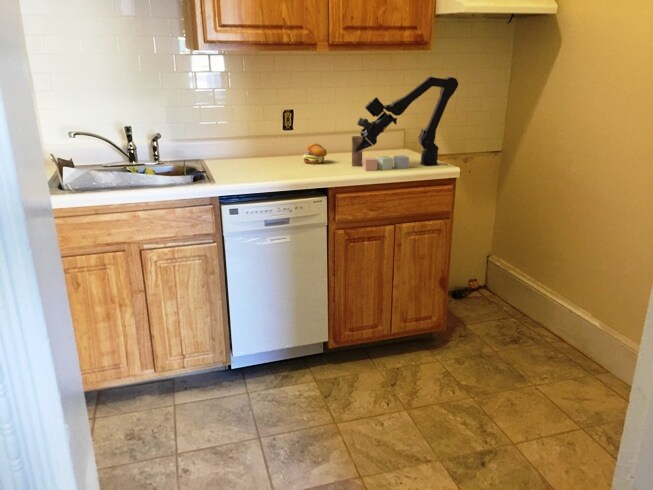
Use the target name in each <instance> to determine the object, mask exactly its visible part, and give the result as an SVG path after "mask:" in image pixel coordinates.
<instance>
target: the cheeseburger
mask: <svg viewBox="0 0 653 490" xmlns="http://www.w3.org/2000/svg"><path fill="white" fill-rule="evenodd" d="M307 150H308V151H306V152H305V153H304V154H303V155H302V156H303V162H304V163H307V164H311V165H316V164H318V165H319V164H323V163H324V160H325V159H326V158H325V157H326V156H327V154H328V153H327V149H326V148H324V147H323V146H322V145H321V144H319V143H318V142H314V143H311V144H309V145H308V146H307Z"/></svg>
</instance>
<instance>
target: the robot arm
mask: <svg viewBox="0 0 653 490" xmlns="http://www.w3.org/2000/svg"><path fill="white" fill-rule="evenodd" d="M432 87H436V88H437V87H438V88H440V89H439V90H440V91H439V97H438V100H437V102H436V103H435V104H436V105H435V107H434V108H433V112H432V114H431V116H430V119H429V121H428V124H427V126H426V127H425V128H424V129H423V128H421V130H420V134H419V135H418V143H419V145H420V146H421V147H422V148H423V149H422V153H421V154H420V155H421V156H420V158H421V159H420V164H421V165H423V166H425V167H426V166H427V167H428V165H429V166H435V165H434V164H439V163H438V158H439V157H438V155H439V146H438V145H437V144H436V143H435V140H436V136H437V135H436V134H437V130H438V126H439V124H440V122H441V119H442V116H443V115H444V112H445V110H446V108H447V105H448V102H449V100H450V99H451V97H453V95H454V94H455V92H456V91H457V89H458V87H459V82H458V79H457V78H456V77H452V76H447V77H444V78H440V77H434V76H428V77H426V79H425V80H423V81H422V82H421V83H419V84H418V85H417V86H416V87H415V88H413V89H412V90H410V92H408V93H407V94H406V95H403V96H402V97H400V98H397V99H396V100H394V101H392V102H391V103H390V104H385V105H384V104H383V103H382V102H381V101H380V100H379V97H374V98H373V99H371V101H369V102H368V103H367V104H366V105H365V107H364V109H365V110H366V111H367V112H369V114H371V116H372V117H373V118H375V117H376V119H375V120H373V121H369V119H367V118H363V117H359V118H358V121H357V123H356V124H357V126H359V127H362V128H361V131H360V136H362V137H363V140H362V142H361V143H360V144H359V146H358V147H357V148H356V151H357V152H358V151H360V150H362V151H363V150H365V149H367V148H370V147H373V146H376V144H377V143H378V136H380V135H381V134H383V133H384V131H385V129H387V128H388V127H389V126H390V125H391V124H392V123H394V125H397V122H398V121H397V120H398V118H397V117H398V116H401V115H403V113H404V112H405V111H406V110H407V109H408V107H409V106H410V105H411V104H412V103H413V102H415V100H417V99H418V98H419V97H421V96H422V95H423V94H425V92H427V91H428V90H430V89H431V88H432ZM387 112H388V113H387ZM393 115H394V116H396V117H394V116H393Z"/></svg>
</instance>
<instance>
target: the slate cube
mask: <svg viewBox="0 0 653 490" xmlns="http://www.w3.org/2000/svg"><path fill="white" fill-rule="evenodd" d="M409 164H410V157H409V156H407V155H404V154H402V155H401V154H400V155H393V167H394V168H395V169H397V170H402V169H409V168H410V167H409Z"/></svg>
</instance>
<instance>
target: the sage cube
mask: <svg viewBox="0 0 653 490" xmlns="http://www.w3.org/2000/svg"><path fill="white" fill-rule="evenodd" d="M376 159H377V170H381V171H387V170H393V163H394V157H390V156H387V155H386V156H377V157H376Z"/></svg>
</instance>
